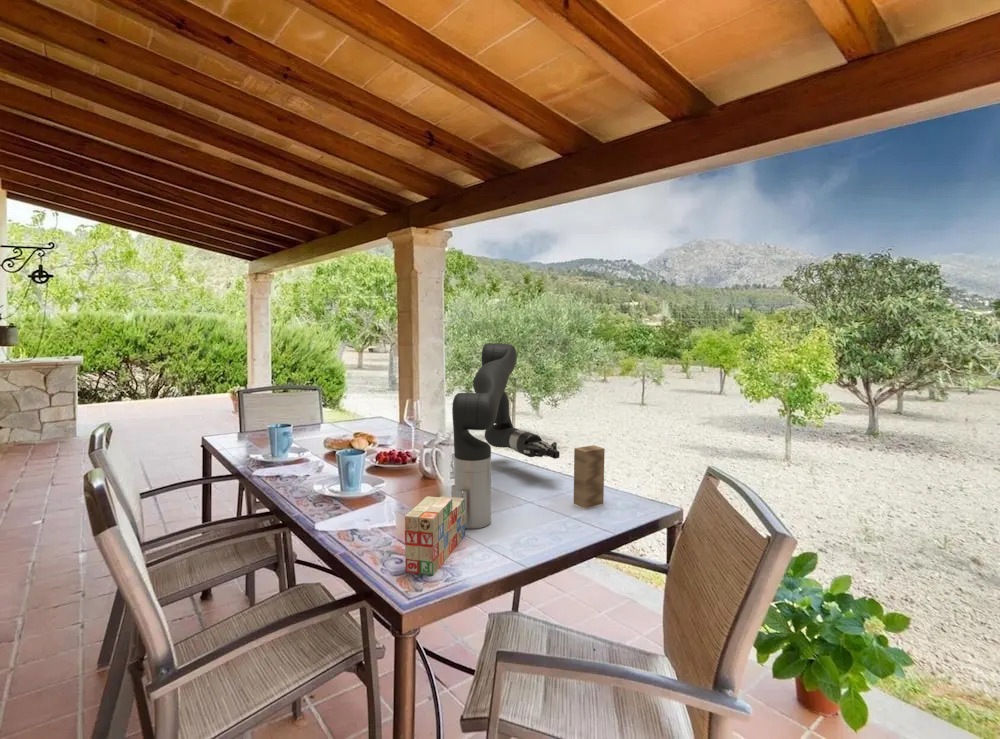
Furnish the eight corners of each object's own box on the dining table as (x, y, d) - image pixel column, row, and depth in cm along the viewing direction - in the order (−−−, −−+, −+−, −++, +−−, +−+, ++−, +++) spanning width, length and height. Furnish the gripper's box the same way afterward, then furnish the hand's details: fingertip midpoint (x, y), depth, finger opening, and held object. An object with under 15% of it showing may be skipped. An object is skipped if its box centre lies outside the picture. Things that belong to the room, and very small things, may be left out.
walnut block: (583, 509, 148) (585, 451, 146) (573, 504, 151) (574, 448, 150) (603, 504, 151) (604, 448, 150) (592, 500, 155) (593, 445, 153)
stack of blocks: (441, 532, 132) (440, 483, 130) (465, 535, 130) (465, 485, 129) (405, 573, 111) (404, 514, 110) (433, 576, 110) (433, 517, 108)
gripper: (508, 434, 174) (539, 445, 159) (541, 429, 180) (575, 440, 166) (508, 457, 174) (539, 470, 160) (541, 451, 181) (574, 464, 167)
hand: (557, 455), depth 163 cm, fingers closed
